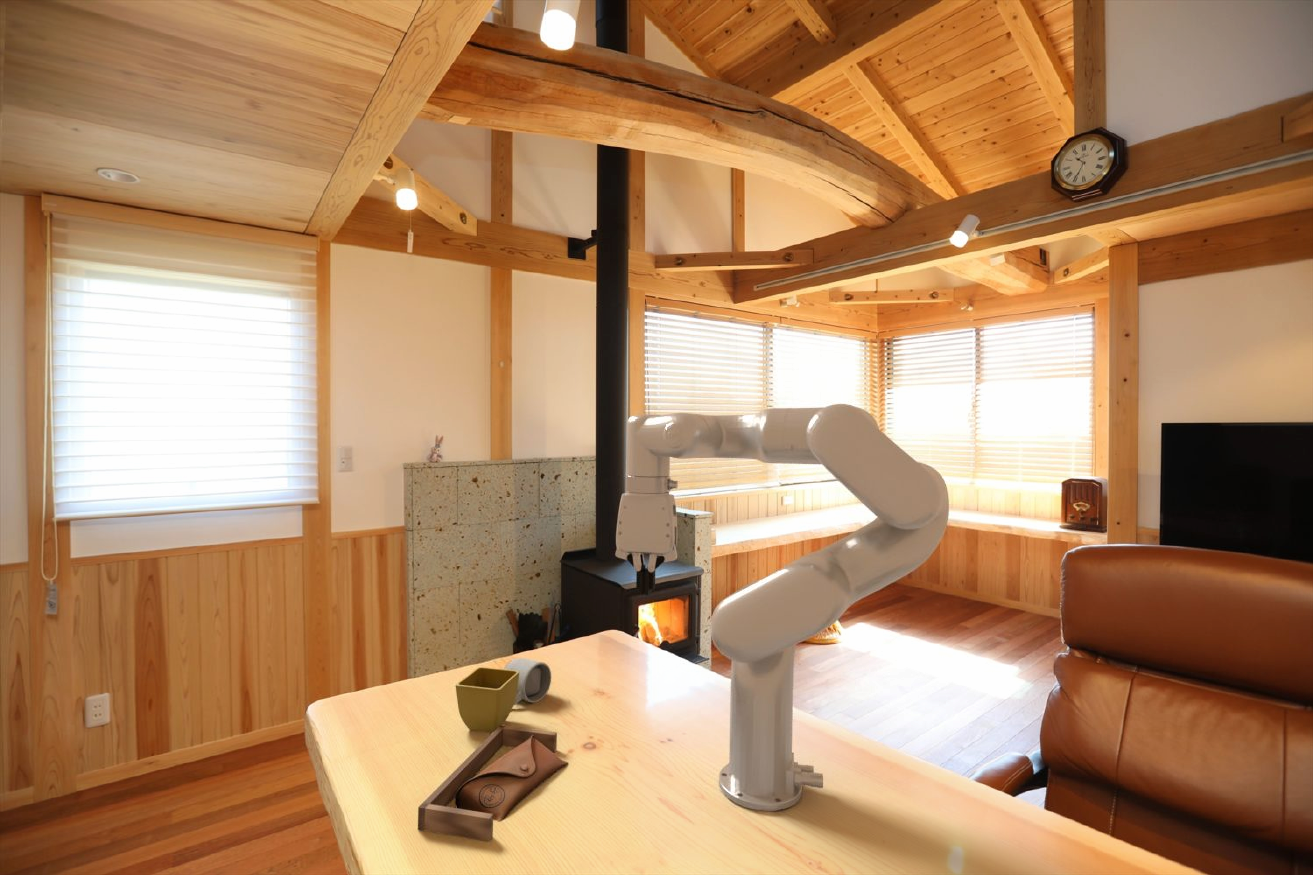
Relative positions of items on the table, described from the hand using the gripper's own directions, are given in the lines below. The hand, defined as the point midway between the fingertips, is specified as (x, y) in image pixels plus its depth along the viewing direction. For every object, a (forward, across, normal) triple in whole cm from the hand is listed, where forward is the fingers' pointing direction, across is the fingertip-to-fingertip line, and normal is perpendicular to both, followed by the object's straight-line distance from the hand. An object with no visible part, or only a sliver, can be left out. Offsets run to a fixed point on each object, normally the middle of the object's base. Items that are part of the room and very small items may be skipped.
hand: (645, 593), depth 102 cm
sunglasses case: (+28, +17, +14) cm, 35 cm away
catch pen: (+27, +20, +15) cm, 37 cm away
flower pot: (+27, +30, -2) cm, 41 cm away
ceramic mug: (+27, +29, -14) cm, 42 cm away
